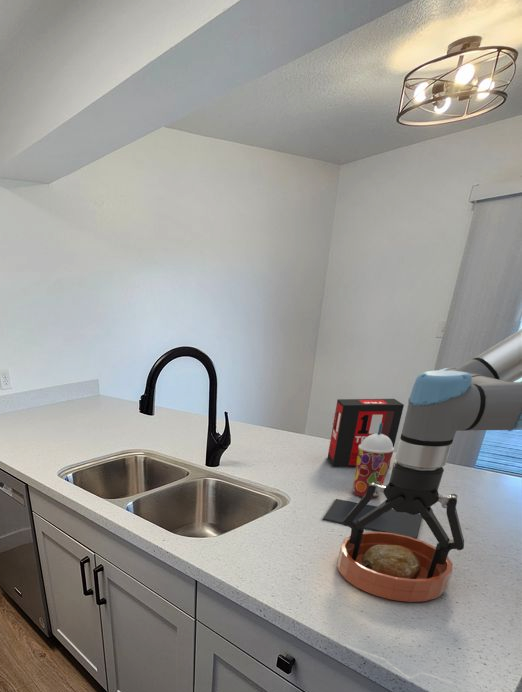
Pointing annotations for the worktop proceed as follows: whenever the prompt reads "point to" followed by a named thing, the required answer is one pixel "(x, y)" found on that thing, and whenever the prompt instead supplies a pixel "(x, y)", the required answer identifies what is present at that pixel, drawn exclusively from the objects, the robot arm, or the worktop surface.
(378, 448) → the smoothie
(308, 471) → the worktop surface
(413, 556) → the bread roll
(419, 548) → the bowl
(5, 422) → the worktop surface
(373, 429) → the cleaning product box
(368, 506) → the placemat
